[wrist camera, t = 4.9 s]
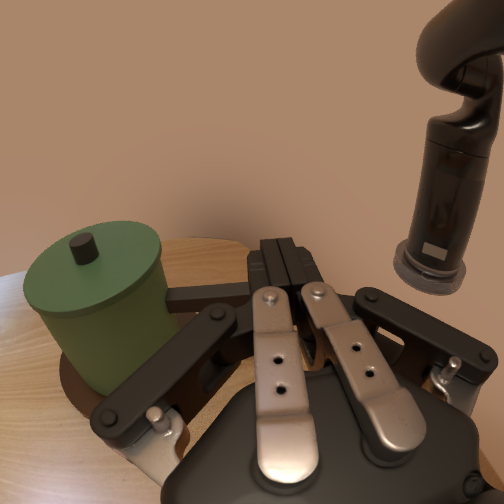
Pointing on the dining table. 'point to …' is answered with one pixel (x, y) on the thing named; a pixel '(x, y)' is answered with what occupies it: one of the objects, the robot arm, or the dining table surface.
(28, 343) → the dining table surface
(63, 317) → the pot
